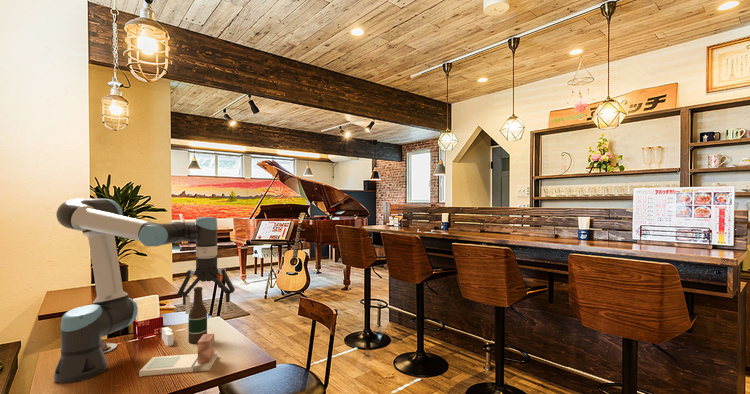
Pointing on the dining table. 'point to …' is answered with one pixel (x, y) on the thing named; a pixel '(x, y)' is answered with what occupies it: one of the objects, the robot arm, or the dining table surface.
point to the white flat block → (169, 365)
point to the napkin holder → (167, 336)
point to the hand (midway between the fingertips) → (206, 312)
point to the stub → (205, 353)
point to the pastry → (106, 345)
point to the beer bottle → (197, 318)
